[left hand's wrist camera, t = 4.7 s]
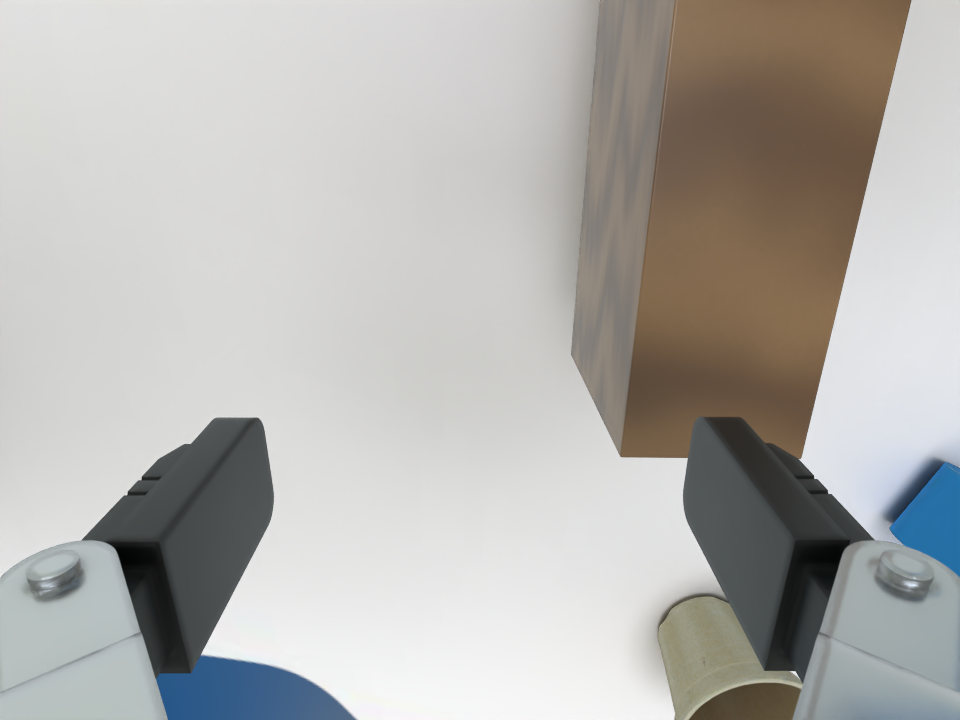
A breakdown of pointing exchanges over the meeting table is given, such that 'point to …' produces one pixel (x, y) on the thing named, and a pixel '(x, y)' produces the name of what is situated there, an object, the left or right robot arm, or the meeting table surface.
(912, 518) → the logo
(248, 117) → the meeting table surface
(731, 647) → the flower pot
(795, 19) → the box
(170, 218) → the meeting table surface
